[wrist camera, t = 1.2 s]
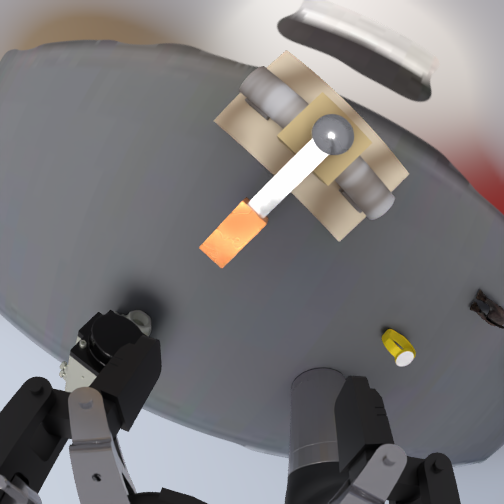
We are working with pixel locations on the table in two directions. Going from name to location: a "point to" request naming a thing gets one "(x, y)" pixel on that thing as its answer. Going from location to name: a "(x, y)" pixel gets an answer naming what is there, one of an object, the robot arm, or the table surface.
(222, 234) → the lever
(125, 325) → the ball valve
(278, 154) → the valve rig
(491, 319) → the dinosaur model
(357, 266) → the table surface
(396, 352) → the watch
